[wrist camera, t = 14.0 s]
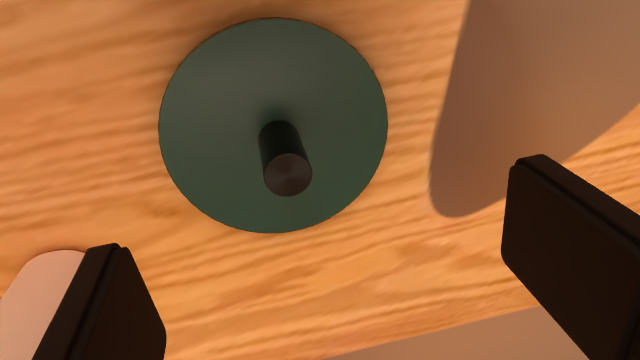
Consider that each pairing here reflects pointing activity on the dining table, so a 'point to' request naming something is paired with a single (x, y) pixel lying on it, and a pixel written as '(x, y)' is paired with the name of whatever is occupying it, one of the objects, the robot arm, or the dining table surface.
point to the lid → (272, 125)
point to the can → (34, 302)
